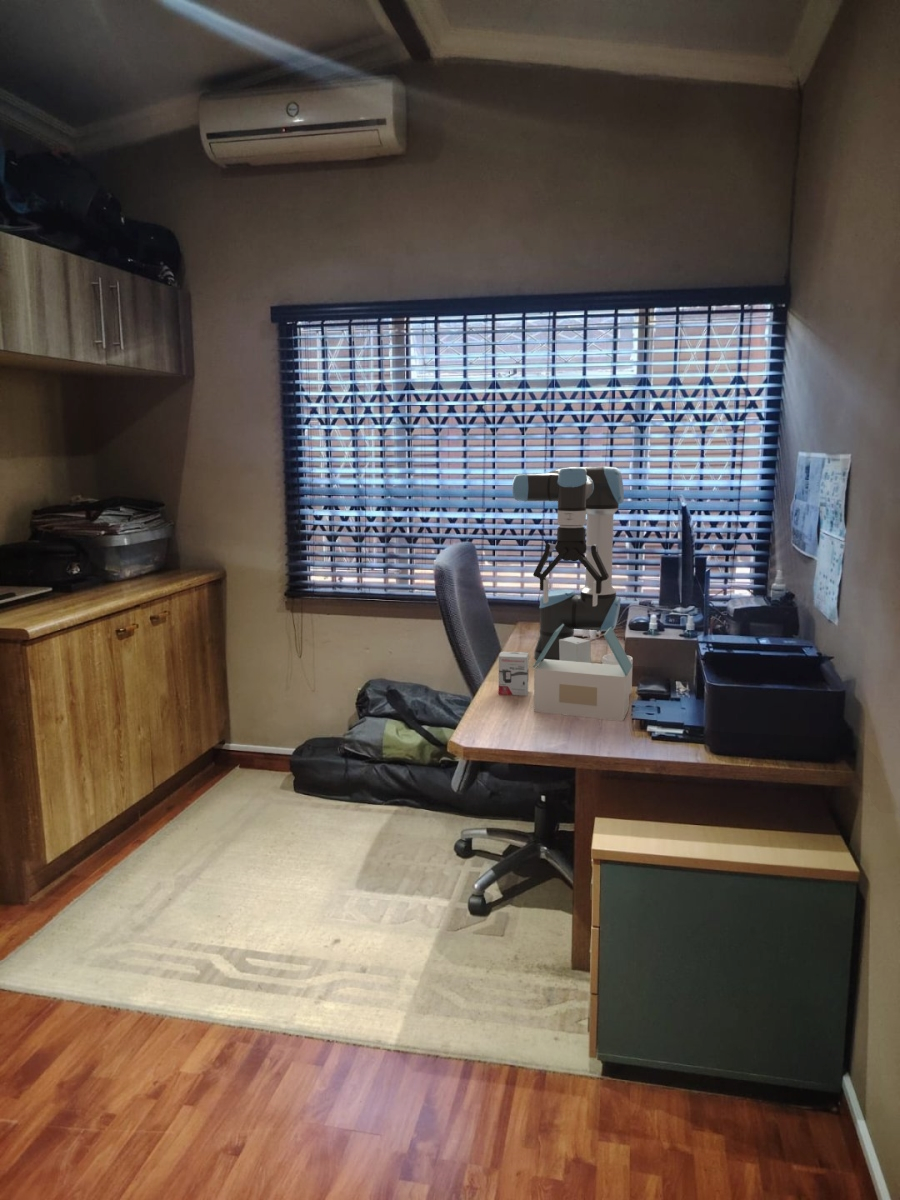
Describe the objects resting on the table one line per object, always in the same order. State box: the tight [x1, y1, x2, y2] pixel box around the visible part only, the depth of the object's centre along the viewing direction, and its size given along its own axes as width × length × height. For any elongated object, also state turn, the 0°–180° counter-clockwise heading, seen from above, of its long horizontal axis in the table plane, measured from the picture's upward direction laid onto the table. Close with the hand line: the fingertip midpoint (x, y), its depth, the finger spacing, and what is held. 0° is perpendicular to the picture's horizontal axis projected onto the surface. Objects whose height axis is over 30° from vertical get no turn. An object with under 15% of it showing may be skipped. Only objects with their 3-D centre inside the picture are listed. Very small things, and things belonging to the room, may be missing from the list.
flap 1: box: [532, 624, 564, 669], centre depth 212 cm, size 12×10×1 cm
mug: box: [601, 653, 634, 696], centre depth 224 cm, size 9×12×11 cm
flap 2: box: [603, 627, 633, 676], centre depth 205 cm, size 12×10×1 cm
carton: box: [533, 659, 630, 722], centre depth 211 cm, size 11×24×12 cm, turn 69°
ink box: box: [497, 651, 530, 697], centre depth 227 cm, size 9×5×12 cm, turn 79°
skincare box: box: [559, 636, 592, 663], centre depth 231 cm, size 8×6×15 cm
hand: (570, 604), depth 211 cm, fingers open, 13 cm apart
